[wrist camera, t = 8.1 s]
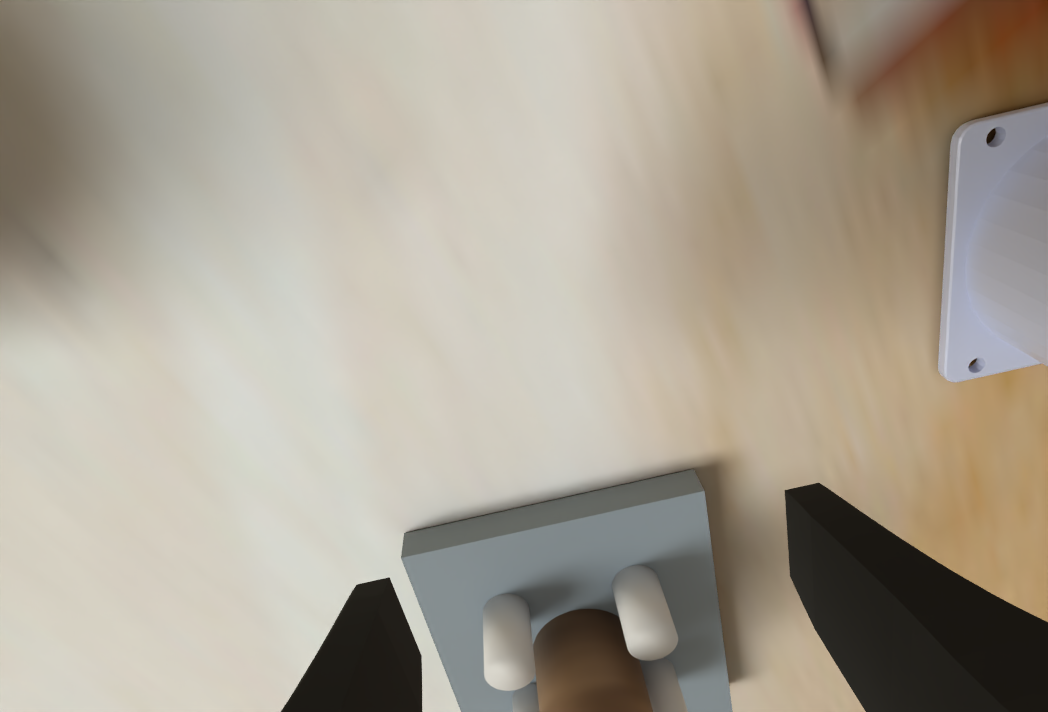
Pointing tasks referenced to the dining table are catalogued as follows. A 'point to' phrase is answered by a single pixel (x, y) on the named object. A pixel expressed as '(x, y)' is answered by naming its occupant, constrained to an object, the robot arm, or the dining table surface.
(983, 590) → the robot arm
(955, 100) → the dining table surface
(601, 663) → the walnut pin
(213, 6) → the dining table surface
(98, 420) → the dining table surface
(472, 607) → the peg pad
